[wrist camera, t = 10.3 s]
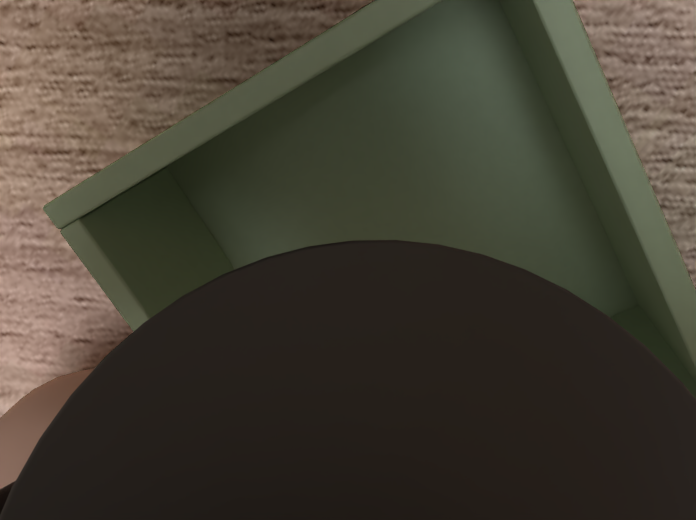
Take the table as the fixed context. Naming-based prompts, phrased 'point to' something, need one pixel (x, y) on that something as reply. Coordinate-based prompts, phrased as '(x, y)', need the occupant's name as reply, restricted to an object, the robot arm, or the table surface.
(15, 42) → the table surface
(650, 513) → the dark grey cylinder
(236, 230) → the open box
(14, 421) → the egg
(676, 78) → the table surface
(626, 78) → the table surface
